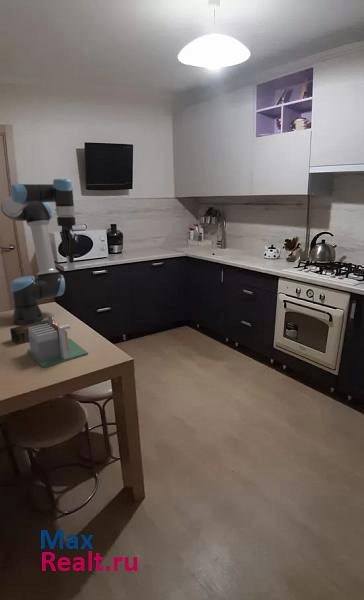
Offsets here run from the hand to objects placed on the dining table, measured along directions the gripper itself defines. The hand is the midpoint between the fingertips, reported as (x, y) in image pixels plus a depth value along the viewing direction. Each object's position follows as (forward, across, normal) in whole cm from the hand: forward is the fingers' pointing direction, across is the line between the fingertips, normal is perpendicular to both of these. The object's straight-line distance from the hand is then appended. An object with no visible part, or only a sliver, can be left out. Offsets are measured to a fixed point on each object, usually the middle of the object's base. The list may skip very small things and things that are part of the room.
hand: (71, 269), depth 162 cm
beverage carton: (+33, -12, -17) cm, 39 cm away
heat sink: (+32, +13, -15) cm, 38 cm away
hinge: (+31, +13, -13) cm, 36 cm away
